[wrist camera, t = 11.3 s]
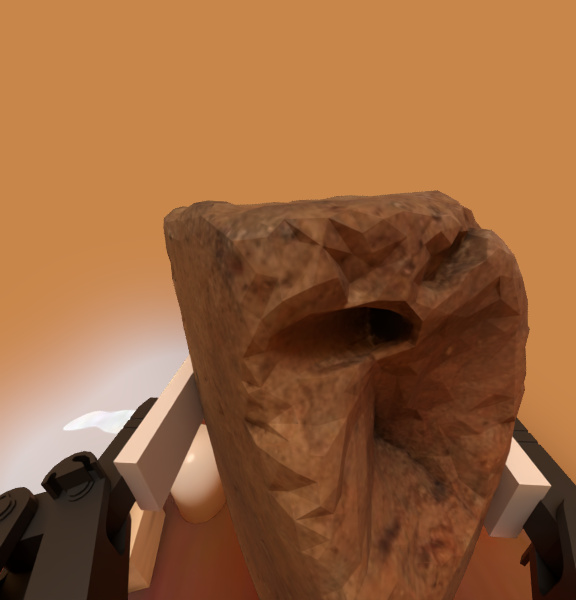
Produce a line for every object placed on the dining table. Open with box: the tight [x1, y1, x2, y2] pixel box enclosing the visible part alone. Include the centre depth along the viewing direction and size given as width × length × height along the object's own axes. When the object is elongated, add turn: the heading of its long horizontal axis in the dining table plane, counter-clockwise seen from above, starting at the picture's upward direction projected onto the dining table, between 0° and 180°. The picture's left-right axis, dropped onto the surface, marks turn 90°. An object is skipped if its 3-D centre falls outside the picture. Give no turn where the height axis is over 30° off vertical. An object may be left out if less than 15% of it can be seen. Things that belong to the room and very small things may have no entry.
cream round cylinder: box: [170, 424, 226, 524], centre depth 29 cm, size 6×6×9 cm
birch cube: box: [128, 501, 166, 593], centre depth 25 cm, size 6×6×6 cm
